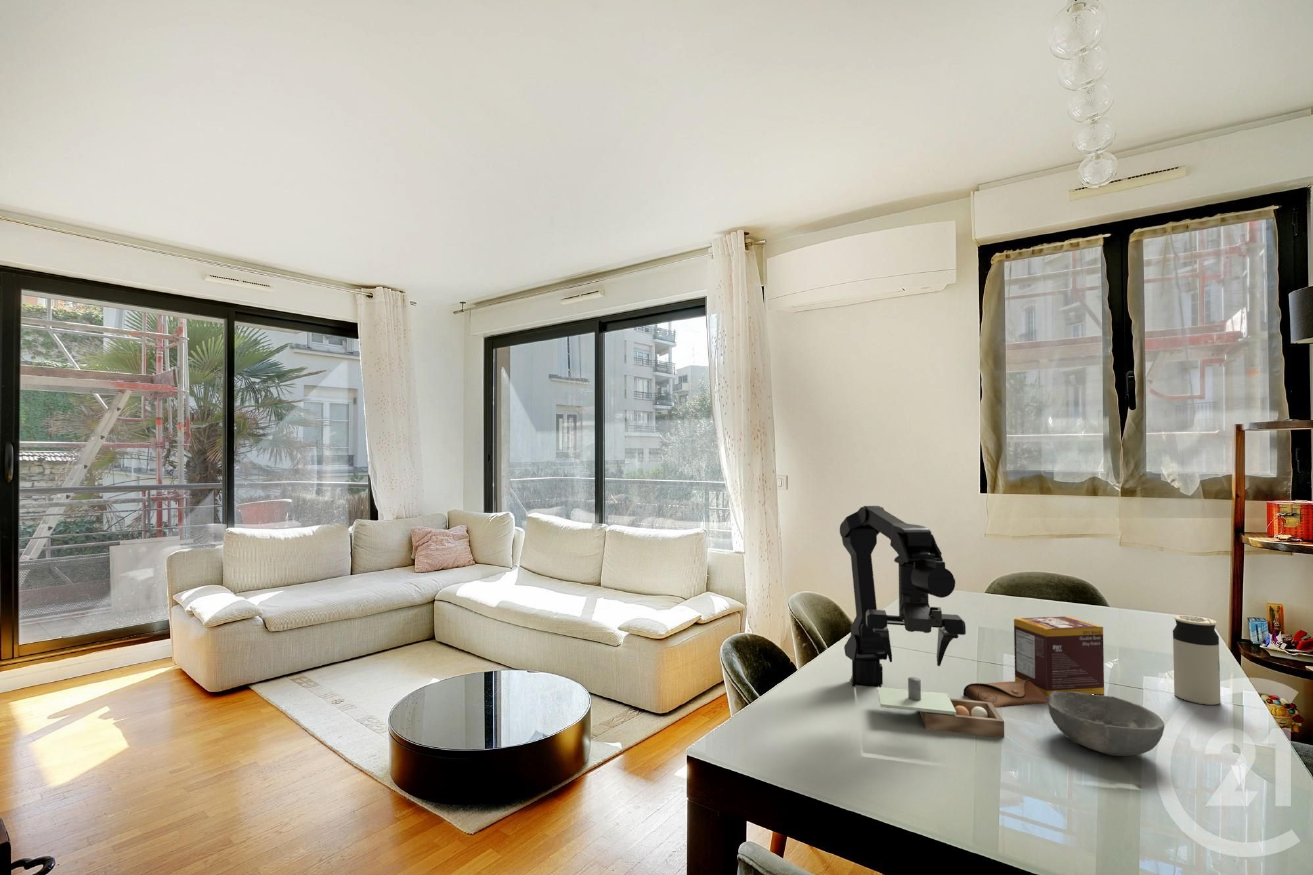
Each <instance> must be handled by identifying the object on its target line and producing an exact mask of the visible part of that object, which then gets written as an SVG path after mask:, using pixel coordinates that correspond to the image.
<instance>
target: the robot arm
mask: <svg viewBox="0 0 1313 875" xmlns="http://www.w3.org/2000/svg"><path fill="white" fill-rule="evenodd" d="M839 534H840V537H841V541H842V542H841V543H842V546H843V547H844V548H845V550H846V551H847V552H848V554H849V555H850V562H851V563H850V564H851V572H852V582H853V584H852V585H853V593H854V604H855V615H856V616H855V618H854V619H853V621H852V623H851V626H850V636H849V638H848V640H847V641H846V643H845V644H844V645H843V646H844V647H843V649H844V654H845V657H847V658H848V659H850V660H851V676H850V677H851V679H850V680H851V686H852V687H856V686H862V687H872V688H877V687H882V685H883V683H884V682H883V681H884V680H883V679H884V678H883V675H884V674H883V670H884V669H883V667H884V666H883V665H882V663H881V660H883V661H886V660H887V658H888V660H889V663H892V662H893V654H892V646H891V638H890V631H889V628H888V625H891V626H892V625H894V626H904V629H905V631H907V632H910V633H914V632H919V633H920V632H921V633H925V634H929V633H931V632H932V628H937V630H938V631H937V644H936V646H937V647H936V665H937V667H941V666H942V665H941V664H942V662H943V660H944V656H945V654H946V651H947V648H948V646H949V645H950V642H951V641H953V639H959V636H960V635H961V636H965V635H966V633H967V631H966V628H967V626H966V622H965V621H964V619H962V618H961V616H960V615H958V614H949V613H943V611H942V607H939V606H930V603H929V595H931V596H934V597H936V598H943V599H944V598H946V597H949V596H950V595H951V594H953V592H954V590H955V587H956V579H955V577H954V575H953V573H952V572H951V571H950V570H949V569H947V568H946V562H945V561H944V559H943V555H942V554H943V553H942V551H941V548H939V546H938V543H937V541H936V539H935V537H934V534H933V533H932V531H931V530H930V528H928V527H927V526H924V525H920V524H913V523H907V522H904V521H903V520H902V519H900V518H898V517H897V516H894V515H893V514H891V513H890V512H889V511H887V510H885V509H884V507H883V506H880V505H864V506H860V508H859V509H858V511H855V512H853V513H852V514H849V515H847V516H846V517H845V518H844V520H843V521H842V522H841V523H840V525H839ZM879 534H881V535H884V536H885V537H886V538H888V539H889V540H890V544H889V545H890V547H891V548H892V549H893V550H894V552H896V553H897V556H896V557H894V560H893V561H894V562H895V563H897V564H898V615H891V614H887V612H886V610H884V609H883V610H881V609H878V608H877V598H876V588H875V578H874V570H873V560H872V553H873V552H874V549H875V547H876V546H877V544H878V535H879Z"/></svg>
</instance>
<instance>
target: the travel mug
mask: <svg viewBox="0 0 1313 875" xmlns="http://www.w3.org/2000/svg"><path fill="white" fill-rule="evenodd" d="M1173 619H1174V620H1175V627H1174V628H1173V630H1172V651H1173V653H1172V654H1173V656H1172V657H1173V689H1174V690H1173V691H1174V695H1175V696H1176V697H1177V698H1179V699H1181V700H1183V699H1184V700H1183V701H1186V700H1187V701H1186V702H1189V701H1190V702H1189V703H1193V702H1195V703H1194V704H1197V703H1198V705H1203V704H1205V705H1207V706H1210V705H1211V706H1215V705H1219V704H1221V703H1222V702H1221V701H1222V700H1221V675H1220V674H1221V673H1220V672H1221V671H1220V668H1221V667H1220V666H1221V665H1220V636H1219V635H1218V633H1217V632H1216V631H1215V629H1216V625H1217V624H1218V622H1217V621H1216V620H1215V619H1210V618H1207V617H1202V616H1196V615H1185V614H1183V615H1182V614H1181V615H1180V614H1179V615H1177V614H1176V615H1174V616H1173ZM1205 705H1204V706H1205Z"/></svg>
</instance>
